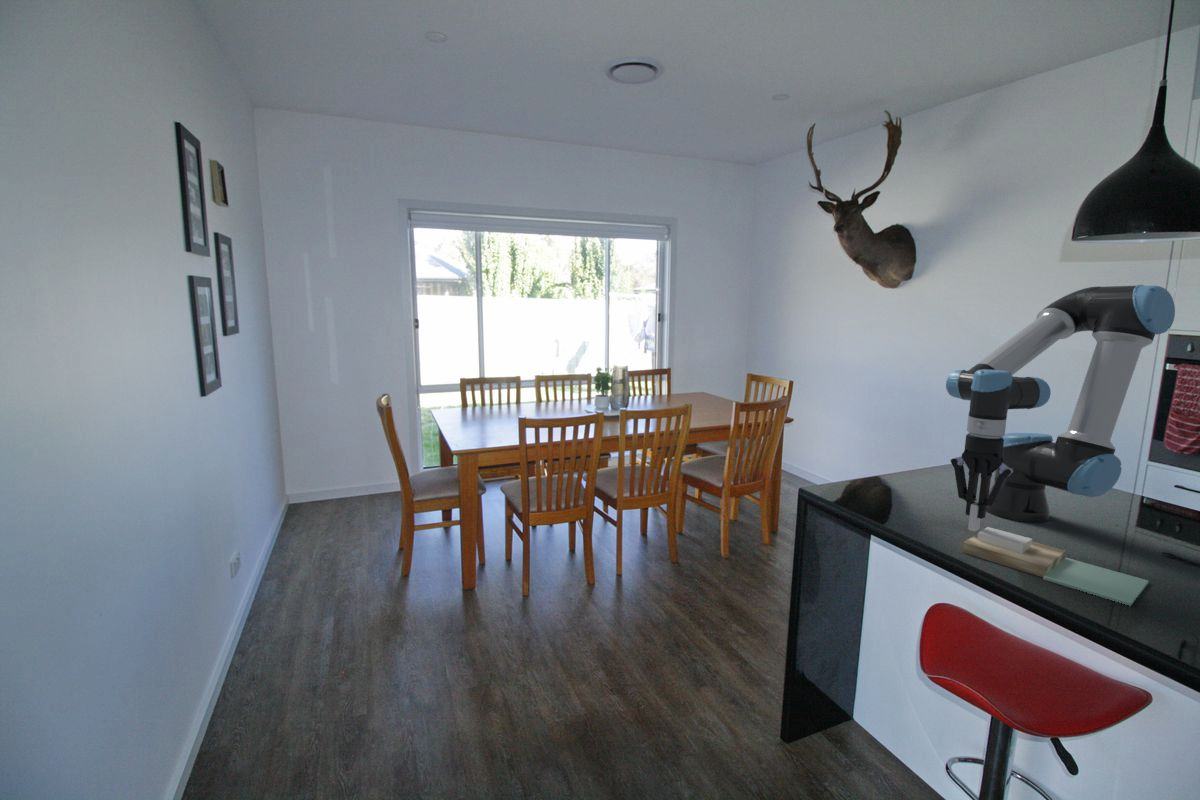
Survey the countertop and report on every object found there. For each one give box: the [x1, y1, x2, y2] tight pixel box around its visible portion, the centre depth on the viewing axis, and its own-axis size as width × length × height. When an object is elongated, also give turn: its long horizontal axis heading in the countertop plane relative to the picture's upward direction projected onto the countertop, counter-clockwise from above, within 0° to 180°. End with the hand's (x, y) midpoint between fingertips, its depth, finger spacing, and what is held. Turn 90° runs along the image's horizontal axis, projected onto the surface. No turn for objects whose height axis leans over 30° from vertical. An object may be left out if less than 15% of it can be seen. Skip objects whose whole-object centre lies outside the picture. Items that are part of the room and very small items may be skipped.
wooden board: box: [961, 533, 1067, 578], centre depth 132 cm, size 14×16×2 cm
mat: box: [1042, 557, 1149, 607], centre depth 121 cm, size 16×14×1 cm
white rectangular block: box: [977, 526, 1033, 553], centre depth 134 cm, size 9×6×2 cm, turn 37°
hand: (973, 529), depth 139 cm, fingers closed
